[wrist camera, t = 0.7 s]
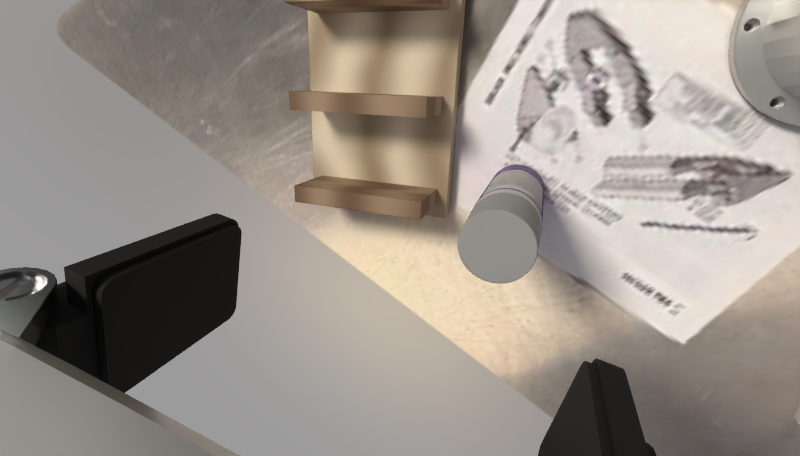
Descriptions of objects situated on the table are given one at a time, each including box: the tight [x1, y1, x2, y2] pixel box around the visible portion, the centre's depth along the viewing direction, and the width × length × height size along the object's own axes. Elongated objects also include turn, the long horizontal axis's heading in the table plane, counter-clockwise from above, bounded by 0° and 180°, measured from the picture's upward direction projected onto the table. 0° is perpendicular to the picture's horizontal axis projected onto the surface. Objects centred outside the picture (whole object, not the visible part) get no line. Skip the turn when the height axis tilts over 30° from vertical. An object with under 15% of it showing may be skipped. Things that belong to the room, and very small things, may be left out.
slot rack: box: [284, 0, 466, 219], centre depth 35 cm, size 14×20×6 cm
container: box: [458, 164, 544, 283], centre depth 29 cm, size 5×5×15 cm
